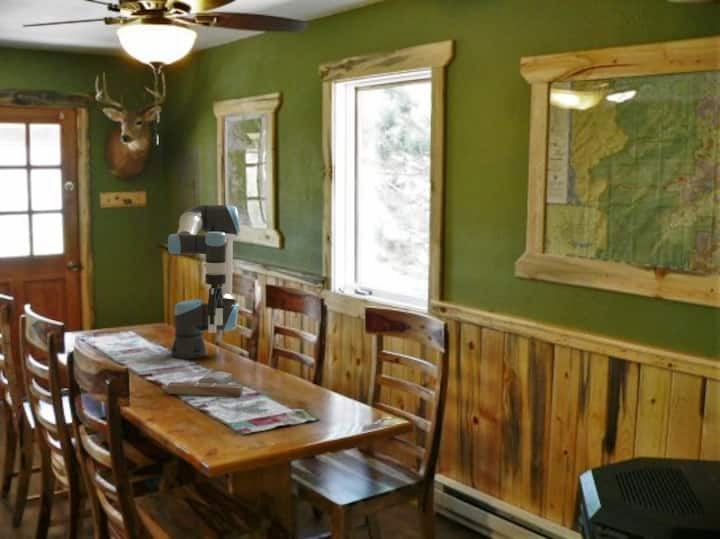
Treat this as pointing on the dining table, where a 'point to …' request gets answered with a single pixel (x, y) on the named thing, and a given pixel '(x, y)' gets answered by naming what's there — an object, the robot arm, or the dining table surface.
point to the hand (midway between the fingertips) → (215, 328)
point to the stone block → (216, 378)
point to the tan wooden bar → (204, 389)
